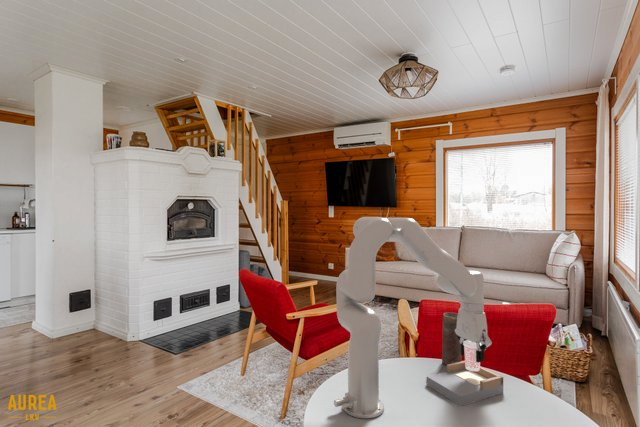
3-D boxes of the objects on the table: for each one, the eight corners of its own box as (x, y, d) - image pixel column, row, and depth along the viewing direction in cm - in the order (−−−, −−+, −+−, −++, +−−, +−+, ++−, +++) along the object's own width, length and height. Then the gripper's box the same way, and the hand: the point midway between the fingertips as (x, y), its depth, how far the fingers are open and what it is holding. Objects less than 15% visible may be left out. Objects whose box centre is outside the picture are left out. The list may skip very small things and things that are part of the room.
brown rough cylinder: (459, 360, 155) (459, 312, 155) (464, 368, 148) (464, 317, 148) (440, 360, 156) (439, 311, 156) (444, 367, 148) (443, 316, 148)
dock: (461, 405, 119) (460, 388, 119) (426, 384, 134) (426, 369, 134) (503, 393, 127) (503, 376, 127) (466, 374, 142) (466, 360, 142)
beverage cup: (459, 366, 134) (459, 327, 134) (472, 364, 136) (472, 325, 136) (472, 373, 128) (472, 332, 128) (486, 370, 130) (485, 330, 130)
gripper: (445, 302, 138) (446, 351, 138) (484, 313, 122) (484, 369, 123) (461, 300, 141) (461, 348, 141) (500, 311, 126) (501, 365, 126)
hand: (472, 357), depth 132 cm, fingers closed on beverage cup, 6 cm apart
